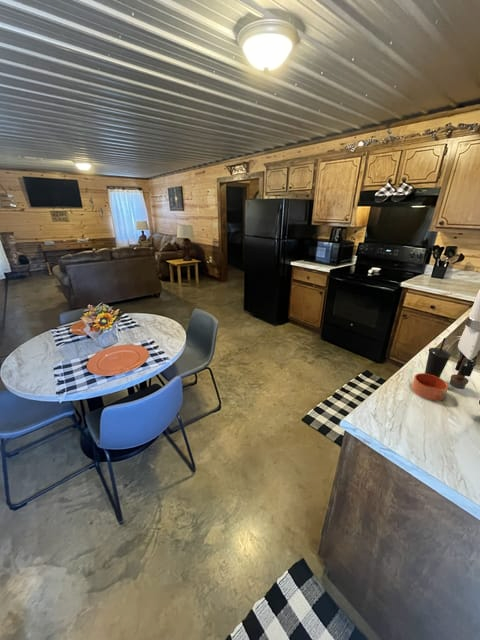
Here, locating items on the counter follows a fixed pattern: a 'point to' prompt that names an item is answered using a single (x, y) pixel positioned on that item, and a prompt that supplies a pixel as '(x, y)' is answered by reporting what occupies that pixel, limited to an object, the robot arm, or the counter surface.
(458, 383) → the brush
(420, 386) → the bowl
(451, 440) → the counter surface
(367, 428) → the counter surface
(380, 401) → the counter surface
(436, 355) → the drinking cup
